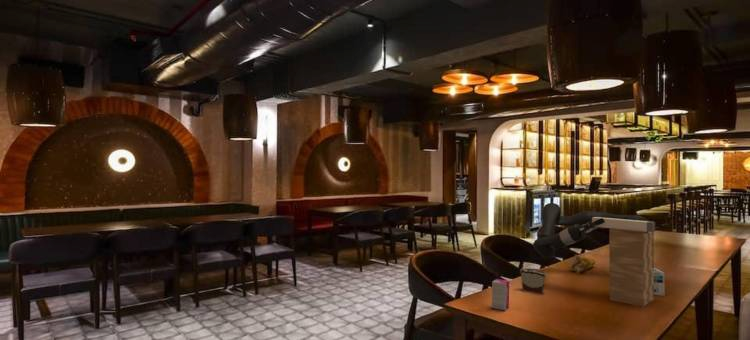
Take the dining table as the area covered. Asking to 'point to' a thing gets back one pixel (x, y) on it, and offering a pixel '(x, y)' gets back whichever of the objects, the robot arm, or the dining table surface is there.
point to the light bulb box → (659, 282)
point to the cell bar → (627, 224)
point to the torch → (582, 264)
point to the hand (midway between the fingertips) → (605, 219)
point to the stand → (631, 266)
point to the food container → (533, 280)
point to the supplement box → (500, 295)
